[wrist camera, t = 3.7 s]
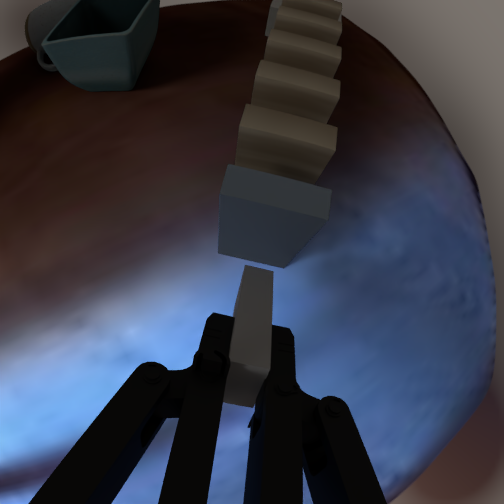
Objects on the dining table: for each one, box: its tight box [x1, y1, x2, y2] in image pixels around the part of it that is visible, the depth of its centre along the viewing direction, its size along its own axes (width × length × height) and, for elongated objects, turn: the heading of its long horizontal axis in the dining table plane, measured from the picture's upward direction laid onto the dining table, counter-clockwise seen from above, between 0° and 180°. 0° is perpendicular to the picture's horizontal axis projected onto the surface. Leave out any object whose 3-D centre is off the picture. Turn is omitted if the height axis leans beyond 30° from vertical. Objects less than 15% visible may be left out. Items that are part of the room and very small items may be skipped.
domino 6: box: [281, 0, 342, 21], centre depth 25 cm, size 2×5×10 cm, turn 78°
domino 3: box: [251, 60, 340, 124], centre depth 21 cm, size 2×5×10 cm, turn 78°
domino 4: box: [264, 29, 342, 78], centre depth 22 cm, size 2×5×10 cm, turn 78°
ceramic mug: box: [25, 0, 78, 71], centre depth 25 cm, size 11×8×8 cm
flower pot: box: [41, 0, 160, 92], centre depth 23 cm, size 9×9×9 cm
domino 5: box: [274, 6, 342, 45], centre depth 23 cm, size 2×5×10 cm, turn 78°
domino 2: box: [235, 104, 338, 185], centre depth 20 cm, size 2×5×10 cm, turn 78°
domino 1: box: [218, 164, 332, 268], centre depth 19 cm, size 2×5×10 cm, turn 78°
